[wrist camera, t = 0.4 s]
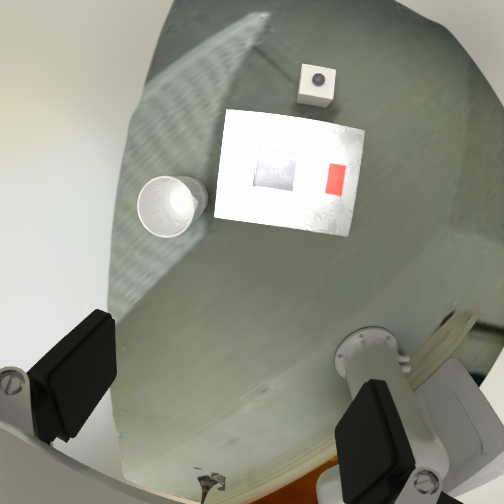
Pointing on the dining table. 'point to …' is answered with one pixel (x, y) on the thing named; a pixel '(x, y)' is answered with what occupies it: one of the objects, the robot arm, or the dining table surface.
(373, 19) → the dining table surface
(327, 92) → the plug
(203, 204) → the white cup
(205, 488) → the eiffel tower figurine
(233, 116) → the socket plate
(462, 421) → the paper bag
